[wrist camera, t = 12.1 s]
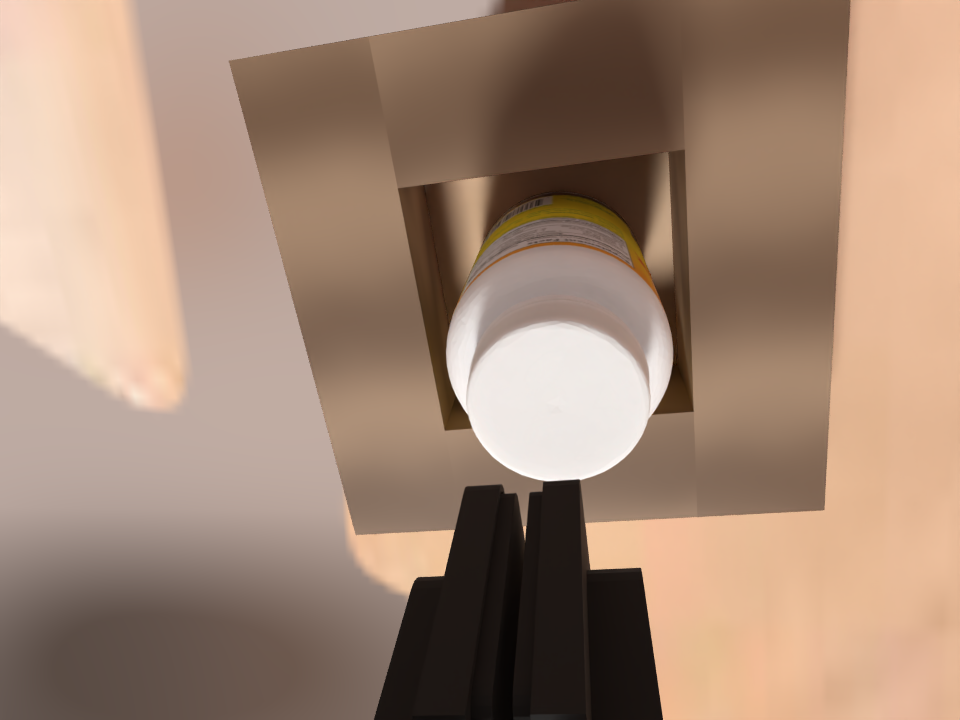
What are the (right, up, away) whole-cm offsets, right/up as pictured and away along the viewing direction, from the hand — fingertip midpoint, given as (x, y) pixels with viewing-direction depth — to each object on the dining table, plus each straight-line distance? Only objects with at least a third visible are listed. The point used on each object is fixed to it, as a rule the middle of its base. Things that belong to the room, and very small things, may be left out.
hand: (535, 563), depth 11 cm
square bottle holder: (+2, +6, +14) cm, 15 cm away
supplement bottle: (+2, +6, +14) cm, 15 cm away
